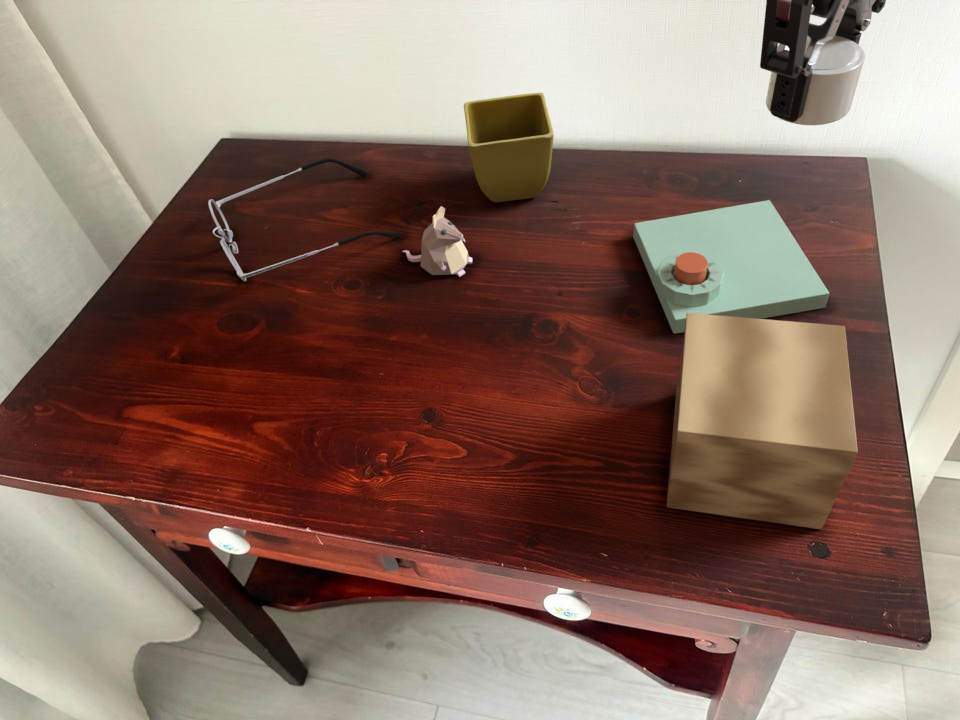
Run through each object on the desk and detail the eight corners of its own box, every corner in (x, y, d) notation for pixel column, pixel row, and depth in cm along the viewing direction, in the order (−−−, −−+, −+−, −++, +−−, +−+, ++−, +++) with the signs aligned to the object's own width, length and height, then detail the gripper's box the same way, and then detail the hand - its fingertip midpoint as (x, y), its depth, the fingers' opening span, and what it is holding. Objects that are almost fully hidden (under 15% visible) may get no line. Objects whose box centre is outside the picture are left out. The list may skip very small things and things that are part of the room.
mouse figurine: (414, 237, 82) (402, 185, 77) (479, 252, 79) (472, 200, 74) (390, 267, 79) (376, 216, 74) (457, 285, 76) (447, 233, 71)
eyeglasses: (214, 221, 88) (197, 186, 84) (364, 170, 91) (354, 134, 87) (240, 305, 78) (222, 269, 74) (408, 244, 81) (399, 206, 77)
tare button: (710, 282, 68) (712, 270, 67) (679, 288, 68) (681, 275, 67) (700, 262, 70) (701, 249, 68) (670, 267, 70) (671, 255, 68)
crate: (814, 409, 61) (845, 325, 54) (821, 529, 54) (858, 452, 47) (675, 394, 64) (686, 312, 56) (666, 507, 57) (677, 430, 50)
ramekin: (866, 98, 56) (881, 46, 53) (823, 134, 54) (837, 82, 51) (792, 75, 60) (803, 24, 56) (749, 109, 57) (758, 58, 54)
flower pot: (547, 160, 88) (543, 90, 81) (557, 206, 82) (554, 134, 76) (473, 171, 88) (463, 101, 82) (478, 217, 83) (468, 146, 76)
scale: (825, 308, 68) (834, 279, 66) (669, 335, 68) (672, 307, 66) (766, 214, 78) (772, 186, 75) (629, 238, 78) (631, 210, 75)
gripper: (871, -117, 39) (803, 159, 51) (993, -196, 45) (905, 70, 57) (744, -137, 43) (710, 124, 55) (871, -207, 49) (814, 44, 61)
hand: (809, 96), depth 56 cm, fingers closed on ramekin, 6 cm apart
